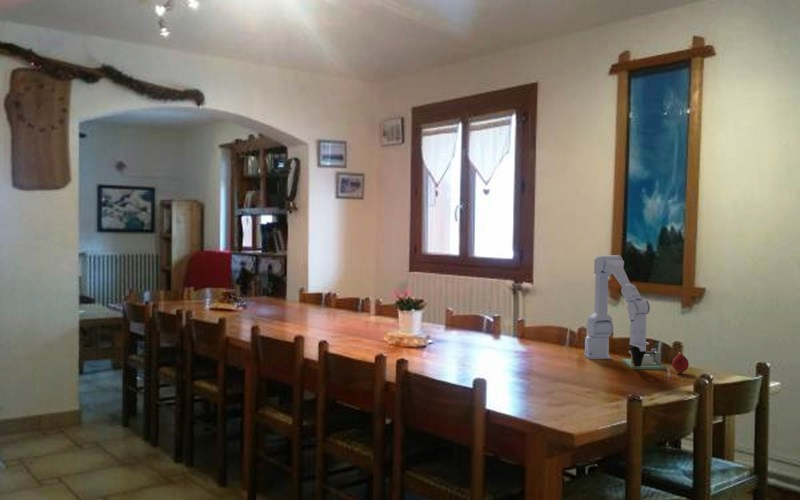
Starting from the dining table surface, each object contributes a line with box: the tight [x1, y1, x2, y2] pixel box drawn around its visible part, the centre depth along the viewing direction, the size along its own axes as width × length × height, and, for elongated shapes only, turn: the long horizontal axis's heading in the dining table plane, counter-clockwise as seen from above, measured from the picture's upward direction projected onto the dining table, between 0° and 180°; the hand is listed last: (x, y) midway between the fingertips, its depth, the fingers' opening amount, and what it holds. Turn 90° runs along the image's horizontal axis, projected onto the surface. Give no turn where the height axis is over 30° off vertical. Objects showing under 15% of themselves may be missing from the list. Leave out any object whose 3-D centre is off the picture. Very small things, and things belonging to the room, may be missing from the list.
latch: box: [628, 350, 636, 367], centre depth 264 cm, size 2×4×5 cm, turn 176°
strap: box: [627, 350, 657, 355], centre depth 268 cm, size 11×4×1 cm, turn 86°
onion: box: [671, 351, 690, 374], centre depth 255 cm, size 6×6×8 cm
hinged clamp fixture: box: [621, 348, 666, 371], centre depth 268 cm, size 13×14×6 cm
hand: (637, 366), depth 259 cm, fingers closed
